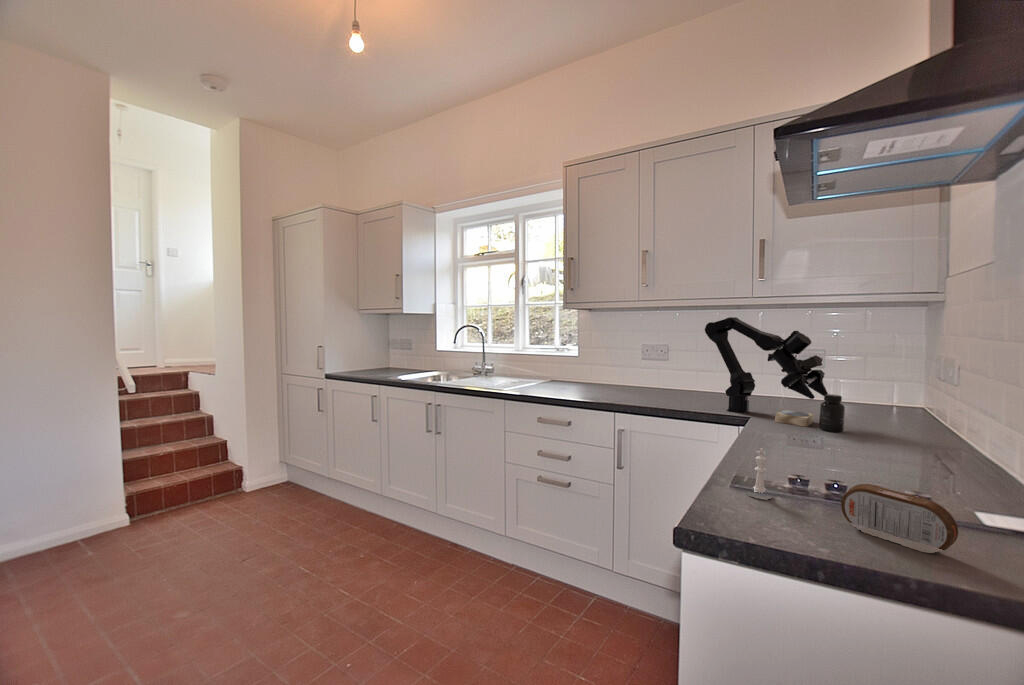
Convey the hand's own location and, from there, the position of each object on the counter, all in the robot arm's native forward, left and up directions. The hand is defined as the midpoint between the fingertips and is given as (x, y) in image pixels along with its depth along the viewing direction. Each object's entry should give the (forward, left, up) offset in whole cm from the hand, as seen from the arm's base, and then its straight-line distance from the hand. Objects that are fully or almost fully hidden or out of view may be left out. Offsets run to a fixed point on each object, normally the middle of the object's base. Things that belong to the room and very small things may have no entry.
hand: (820, 397), depth 156 cm
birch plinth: (-8, +4, -11) cm, 14 cm away
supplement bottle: (+4, -1, -11) cm, 11 cm away
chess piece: (+5, -82, -11) cm, 83 cm away
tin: (+27, -87, -11) cm, 92 cm away
